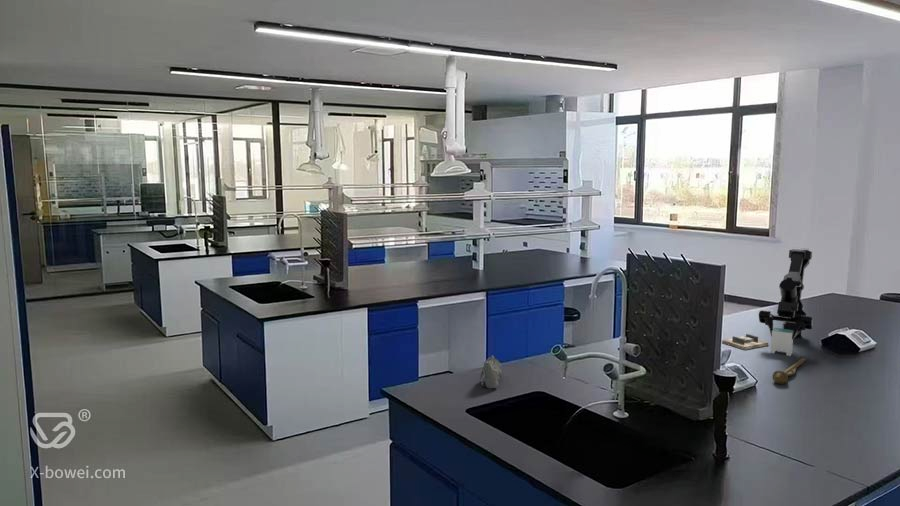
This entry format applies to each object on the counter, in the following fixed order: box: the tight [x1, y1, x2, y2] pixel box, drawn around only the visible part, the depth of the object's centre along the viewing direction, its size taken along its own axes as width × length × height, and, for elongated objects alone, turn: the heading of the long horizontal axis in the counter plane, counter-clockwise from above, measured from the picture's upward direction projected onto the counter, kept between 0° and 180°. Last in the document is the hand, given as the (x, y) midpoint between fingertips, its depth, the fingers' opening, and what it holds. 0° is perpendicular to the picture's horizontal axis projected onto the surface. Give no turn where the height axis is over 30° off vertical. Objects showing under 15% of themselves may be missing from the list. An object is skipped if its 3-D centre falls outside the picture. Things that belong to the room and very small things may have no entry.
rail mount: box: [721, 333, 769, 351], centre depth 251 cm, size 14×11×3 cm
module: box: [769, 327, 794, 357], centre depth 239 cm, size 5×7×9 cm
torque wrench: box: [772, 357, 806, 385], centre depth 216 cm, size 5×35×5 cm
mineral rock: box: [479, 354, 503, 389], centre depth 207 cm, size 13×11×10 cm
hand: (781, 337), depth 237 cm, fingers closed on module, 7 cm apart
